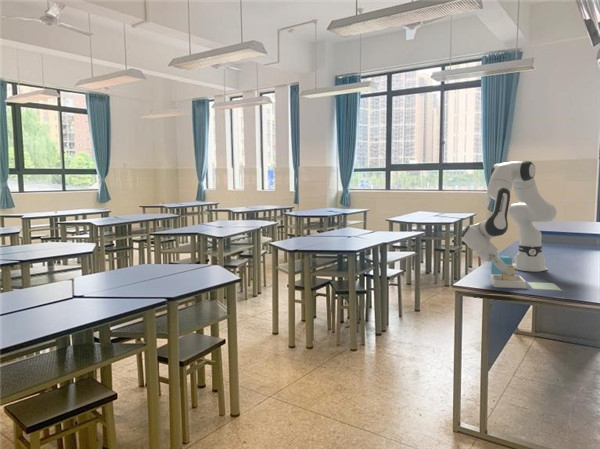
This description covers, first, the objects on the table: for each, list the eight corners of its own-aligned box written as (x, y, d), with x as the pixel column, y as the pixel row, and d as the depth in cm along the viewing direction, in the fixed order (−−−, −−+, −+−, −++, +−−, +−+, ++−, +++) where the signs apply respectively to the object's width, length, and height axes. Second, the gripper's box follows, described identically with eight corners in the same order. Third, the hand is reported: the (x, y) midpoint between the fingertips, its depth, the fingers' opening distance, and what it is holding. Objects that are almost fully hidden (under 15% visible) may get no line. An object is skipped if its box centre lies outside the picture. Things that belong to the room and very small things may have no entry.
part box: (501, 282, 217) (501, 264, 217) (512, 282, 216) (512, 264, 215) (503, 284, 213) (503, 266, 212) (514, 284, 211) (514, 266, 210)
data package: (511, 280, 227) (512, 257, 226) (503, 280, 226) (504, 257, 225) (499, 275, 239) (499, 253, 237) (491, 275, 238) (491, 254, 237)
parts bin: (490, 282, 223) (490, 274, 223) (520, 283, 219) (520, 275, 219) (494, 288, 210) (494, 280, 209) (526, 290, 206) (526, 281, 205)
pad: (526, 283, 218) (526, 282, 218) (553, 284, 215) (553, 283, 215) (533, 290, 205) (533, 288, 205) (561, 291, 201) (561, 290, 201)
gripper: (496, 251, 205) (518, 273, 203) (490, 245, 224) (510, 264, 222) (486, 260, 206) (508, 281, 205) (481, 253, 226) (501, 272, 224)
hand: (509, 272), depth 214 cm, fingers closed on part box, 5 cm apart
